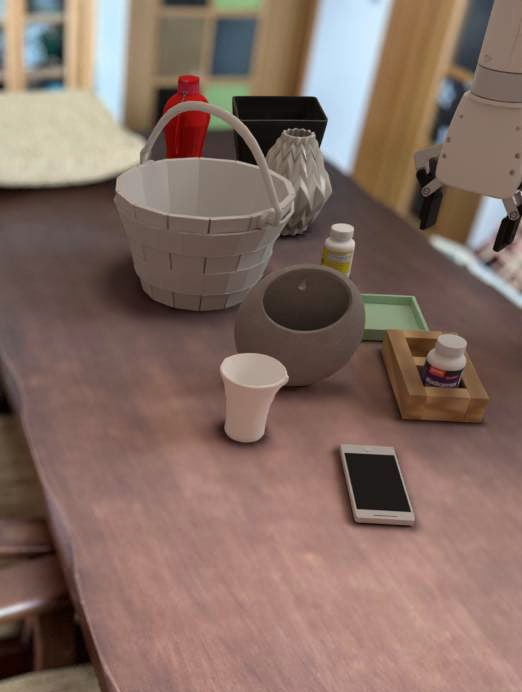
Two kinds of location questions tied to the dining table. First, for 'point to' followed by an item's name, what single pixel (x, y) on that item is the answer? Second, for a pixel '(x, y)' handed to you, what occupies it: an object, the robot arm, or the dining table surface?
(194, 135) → the water bottle
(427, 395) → the frame
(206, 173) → the basket
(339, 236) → the supplement bottle
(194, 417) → the dining table surface
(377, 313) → the tray
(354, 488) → the smartphone
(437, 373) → the pill bottle
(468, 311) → the dining table surface
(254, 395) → the cup
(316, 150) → the vase
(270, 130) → the flower pot
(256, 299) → the planter
